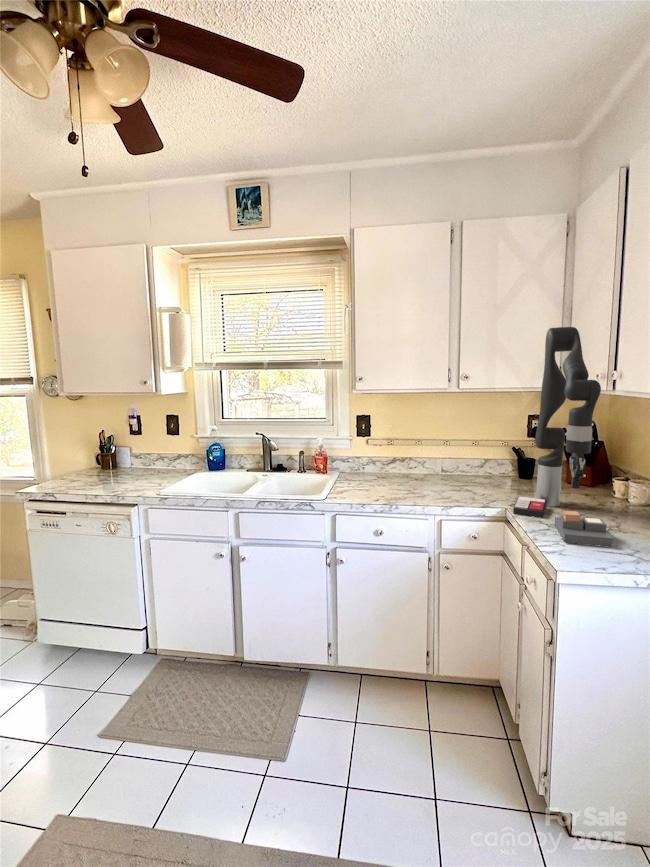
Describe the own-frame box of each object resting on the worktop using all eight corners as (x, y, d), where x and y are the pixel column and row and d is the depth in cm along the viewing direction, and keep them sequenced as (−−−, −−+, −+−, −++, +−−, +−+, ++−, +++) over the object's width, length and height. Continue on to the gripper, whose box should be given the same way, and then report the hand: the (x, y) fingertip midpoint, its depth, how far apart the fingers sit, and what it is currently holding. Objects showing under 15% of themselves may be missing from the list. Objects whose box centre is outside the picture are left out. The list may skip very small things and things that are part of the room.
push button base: (554, 524, 166) (555, 510, 166) (596, 528, 162) (597, 513, 161) (564, 542, 149) (565, 526, 149) (612, 547, 145) (613, 531, 144)
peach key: (562, 517, 159) (563, 510, 159) (576, 518, 158) (577, 511, 157) (565, 521, 155) (565, 514, 154) (579, 522, 153) (580, 515, 153)
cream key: (584, 524, 157) (584, 517, 157) (598, 525, 156) (599, 518, 155) (587, 528, 153) (588, 521, 153) (602, 530, 152) (602, 523, 151)
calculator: (513, 506, 179) (518, 495, 192) (513, 516, 180) (517, 504, 193) (543, 510, 174) (546, 498, 186) (543, 520, 174) (545, 508, 187)
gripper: (562, 435, 159) (559, 482, 162) (571, 441, 147) (567, 492, 149) (586, 436, 157) (582, 483, 160) (597, 442, 145) (593, 493, 147)
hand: (575, 487), depth 154 cm, fingers closed
